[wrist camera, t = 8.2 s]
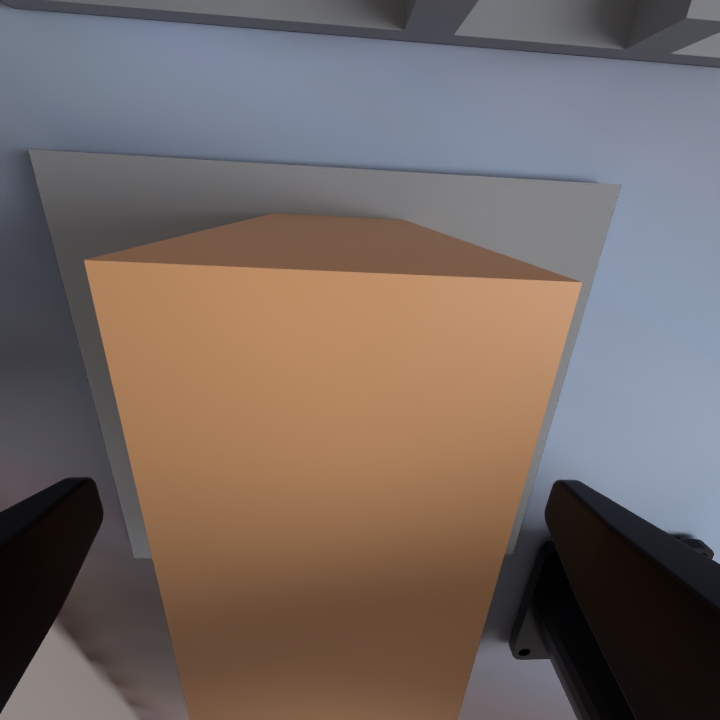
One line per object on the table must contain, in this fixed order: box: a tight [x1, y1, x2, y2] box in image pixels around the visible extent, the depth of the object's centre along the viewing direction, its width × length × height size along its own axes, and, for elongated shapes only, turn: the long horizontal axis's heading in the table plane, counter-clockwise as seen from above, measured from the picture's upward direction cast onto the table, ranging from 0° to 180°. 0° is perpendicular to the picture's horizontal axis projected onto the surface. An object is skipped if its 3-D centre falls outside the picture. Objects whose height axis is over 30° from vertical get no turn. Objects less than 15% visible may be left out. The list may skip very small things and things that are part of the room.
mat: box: [28, 149, 621, 558], centre depth 11 cm, size 12×13×1 cm
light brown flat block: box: [84, 213, 582, 720], centre depth 7 cm, size 10×3×7 cm, turn 177°
